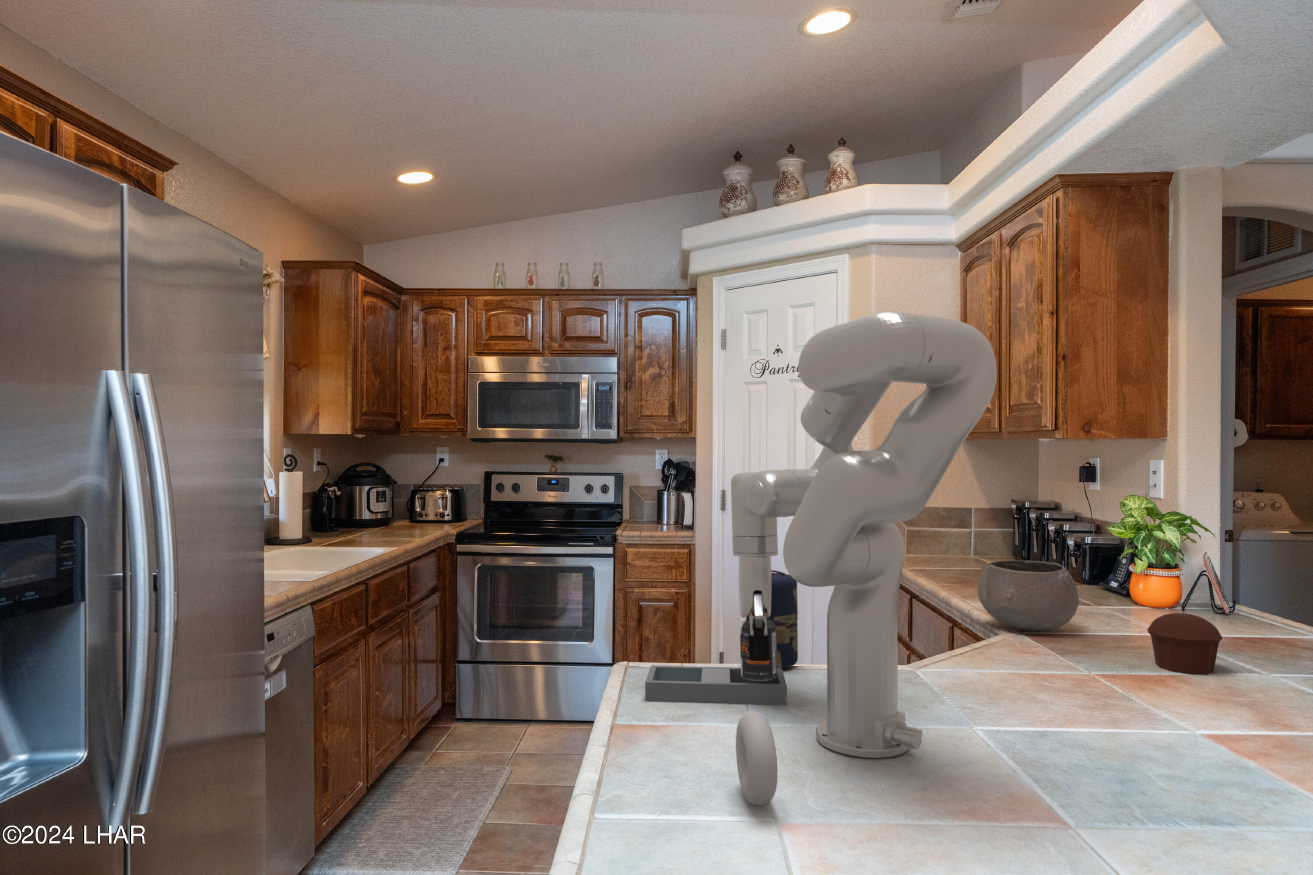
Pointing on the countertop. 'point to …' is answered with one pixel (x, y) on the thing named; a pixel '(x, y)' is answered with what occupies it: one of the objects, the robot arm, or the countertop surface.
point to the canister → (785, 618)
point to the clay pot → (1028, 594)
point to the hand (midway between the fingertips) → (758, 654)
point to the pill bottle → (757, 668)
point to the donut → (756, 758)
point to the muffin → (1184, 643)
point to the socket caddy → (712, 686)
